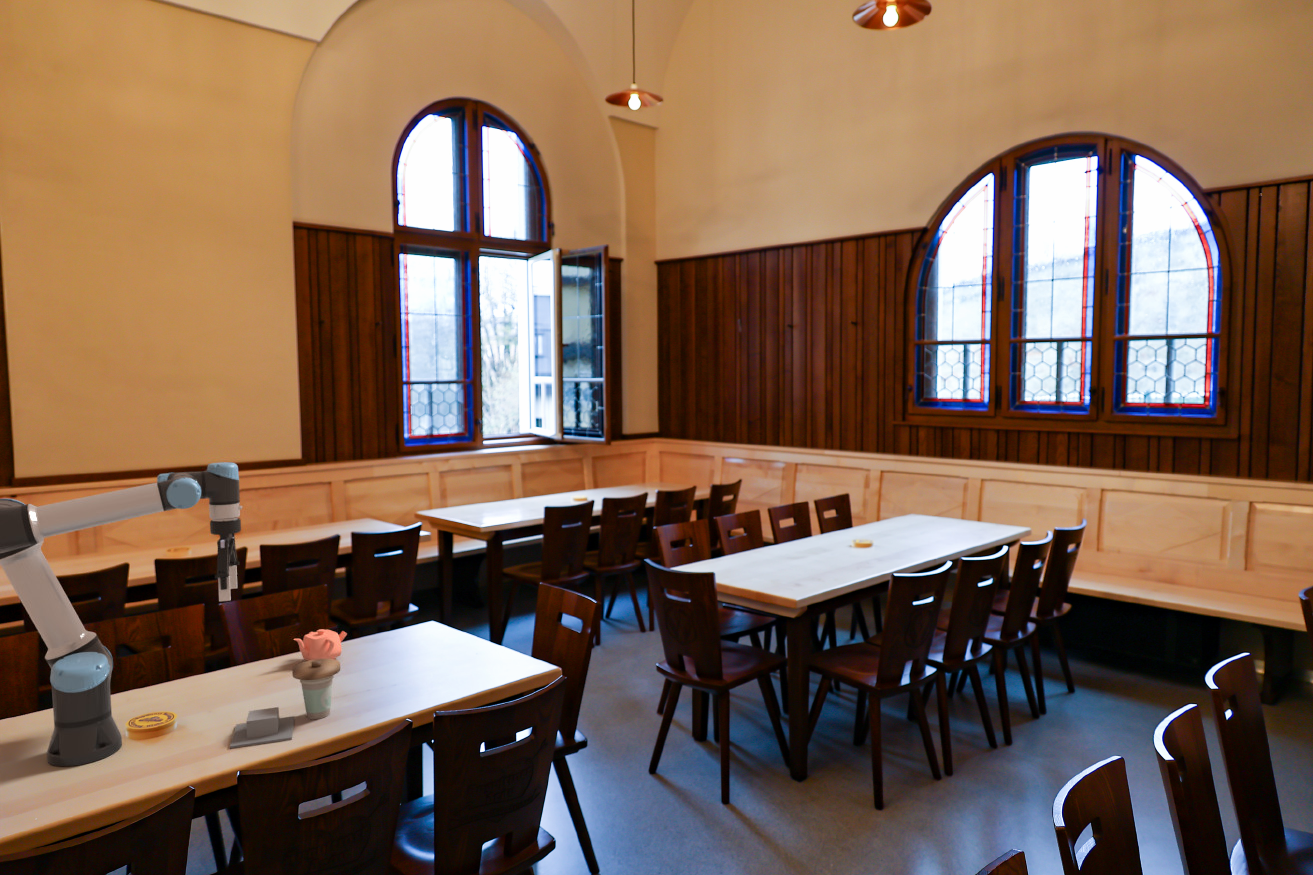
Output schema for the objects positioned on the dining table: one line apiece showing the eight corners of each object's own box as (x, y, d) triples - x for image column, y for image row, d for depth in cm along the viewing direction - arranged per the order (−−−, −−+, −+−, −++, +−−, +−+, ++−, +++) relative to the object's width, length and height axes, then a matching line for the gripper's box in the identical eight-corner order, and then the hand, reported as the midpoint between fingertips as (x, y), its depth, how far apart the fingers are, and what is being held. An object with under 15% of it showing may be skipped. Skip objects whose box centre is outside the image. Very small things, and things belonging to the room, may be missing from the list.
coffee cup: (323, 722, 221) (321, 678, 220) (294, 720, 223) (292, 676, 222) (341, 709, 230) (340, 667, 229) (313, 707, 231) (312, 665, 230)
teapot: (313, 653, 277) (311, 623, 276) (349, 652, 276) (347, 622, 276) (294, 668, 262) (292, 637, 261) (331, 668, 262) (330, 636, 261)
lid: (291, 682, 218) (290, 672, 217) (293, 667, 229) (293, 657, 229) (340, 676, 222) (339, 666, 221) (340, 661, 233) (340, 652, 233)
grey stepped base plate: (230, 748, 206) (229, 729, 206) (236, 726, 219) (235, 707, 219) (291, 739, 211) (290, 720, 211) (294, 718, 224) (293, 700, 224)
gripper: (234, 525, 219) (237, 604, 221) (246, 510, 243) (248, 582, 244) (202, 527, 217) (205, 607, 218) (217, 512, 240) (220, 584, 242)
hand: (228, 594), depth 231 cm, fingers open, 13 cm apart
